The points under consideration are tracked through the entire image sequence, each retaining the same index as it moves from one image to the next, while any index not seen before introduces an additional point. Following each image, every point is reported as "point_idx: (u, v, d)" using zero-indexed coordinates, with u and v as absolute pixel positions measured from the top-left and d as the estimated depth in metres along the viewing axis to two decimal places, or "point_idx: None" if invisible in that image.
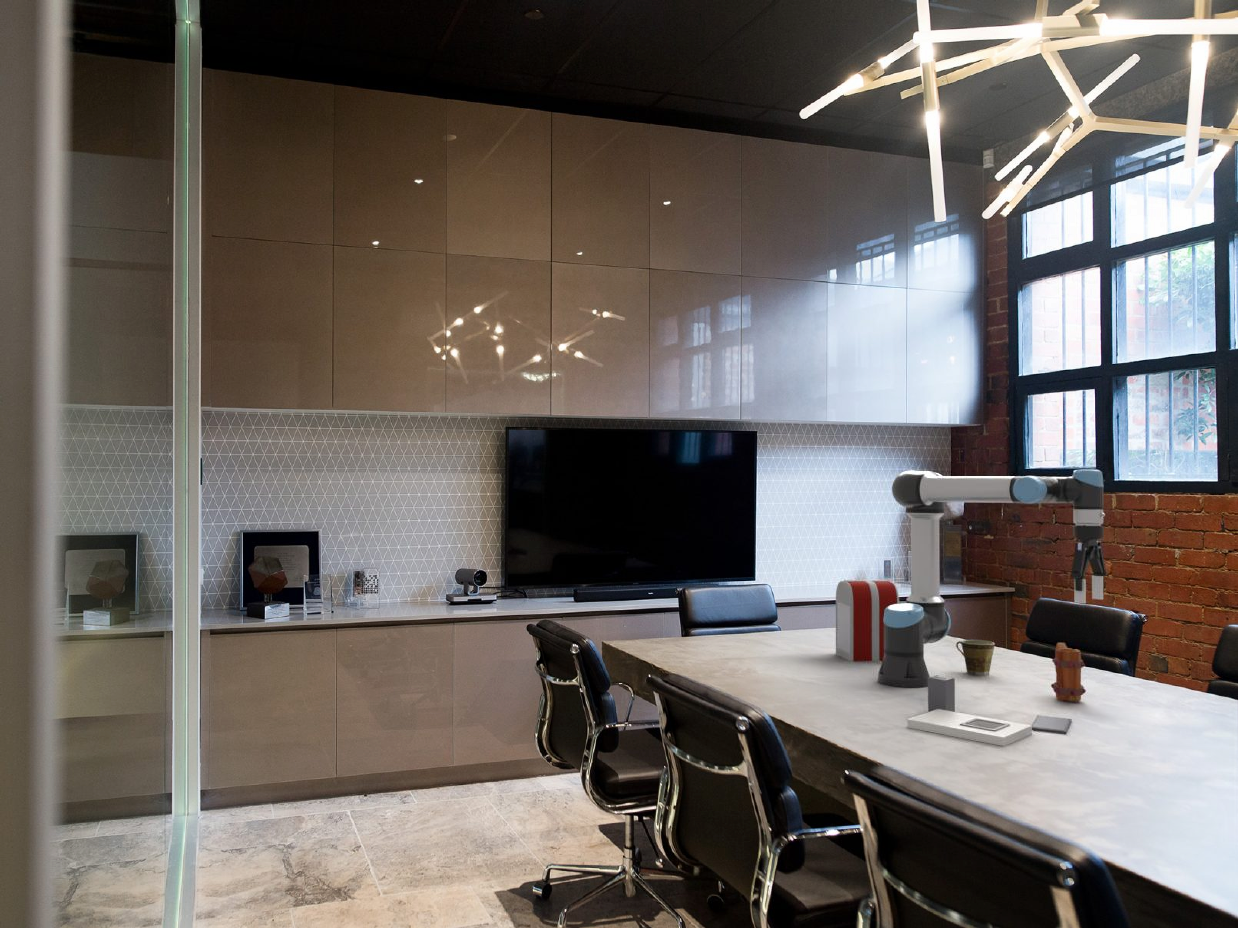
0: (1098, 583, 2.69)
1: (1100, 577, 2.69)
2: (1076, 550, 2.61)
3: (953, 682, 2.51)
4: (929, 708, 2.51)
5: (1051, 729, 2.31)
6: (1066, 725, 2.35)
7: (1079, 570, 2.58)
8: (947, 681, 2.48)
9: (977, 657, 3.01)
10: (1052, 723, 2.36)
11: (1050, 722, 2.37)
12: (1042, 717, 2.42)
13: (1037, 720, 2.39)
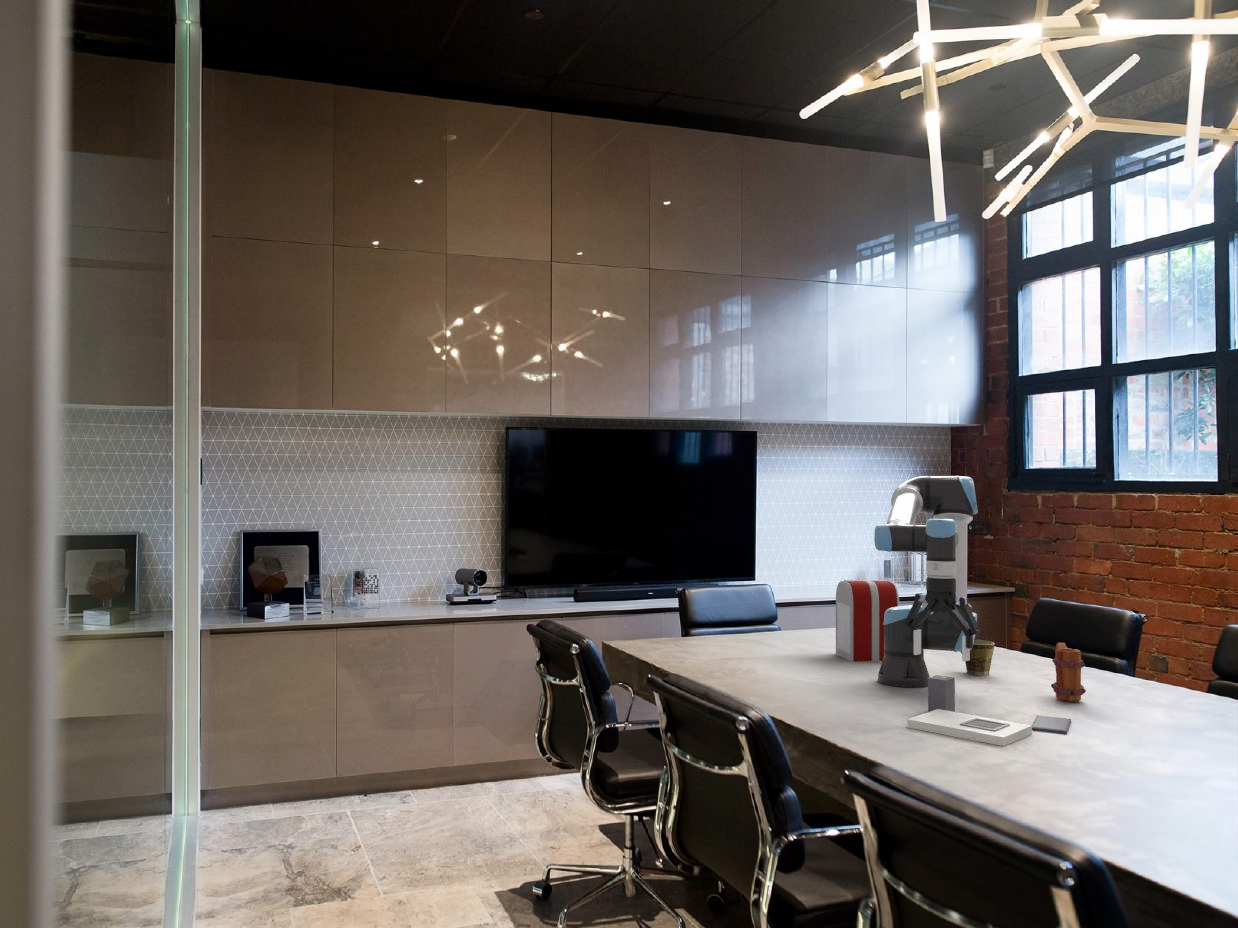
0: None
1: None
2: None
3: (953, 682, 2.51)
4: (929, 708, 2.51)
5: (1052, 729, 2.31)
6: (1066, 725, 2.35)
7: None
8: (947, 681, 2.48)
9: (977, 657, 3.01)
10: (1052, 723, 2.36)
11: (1050, 722, 2.37)
12: (1042, 717, 2.43)
13: (1037, 720, 2.39)
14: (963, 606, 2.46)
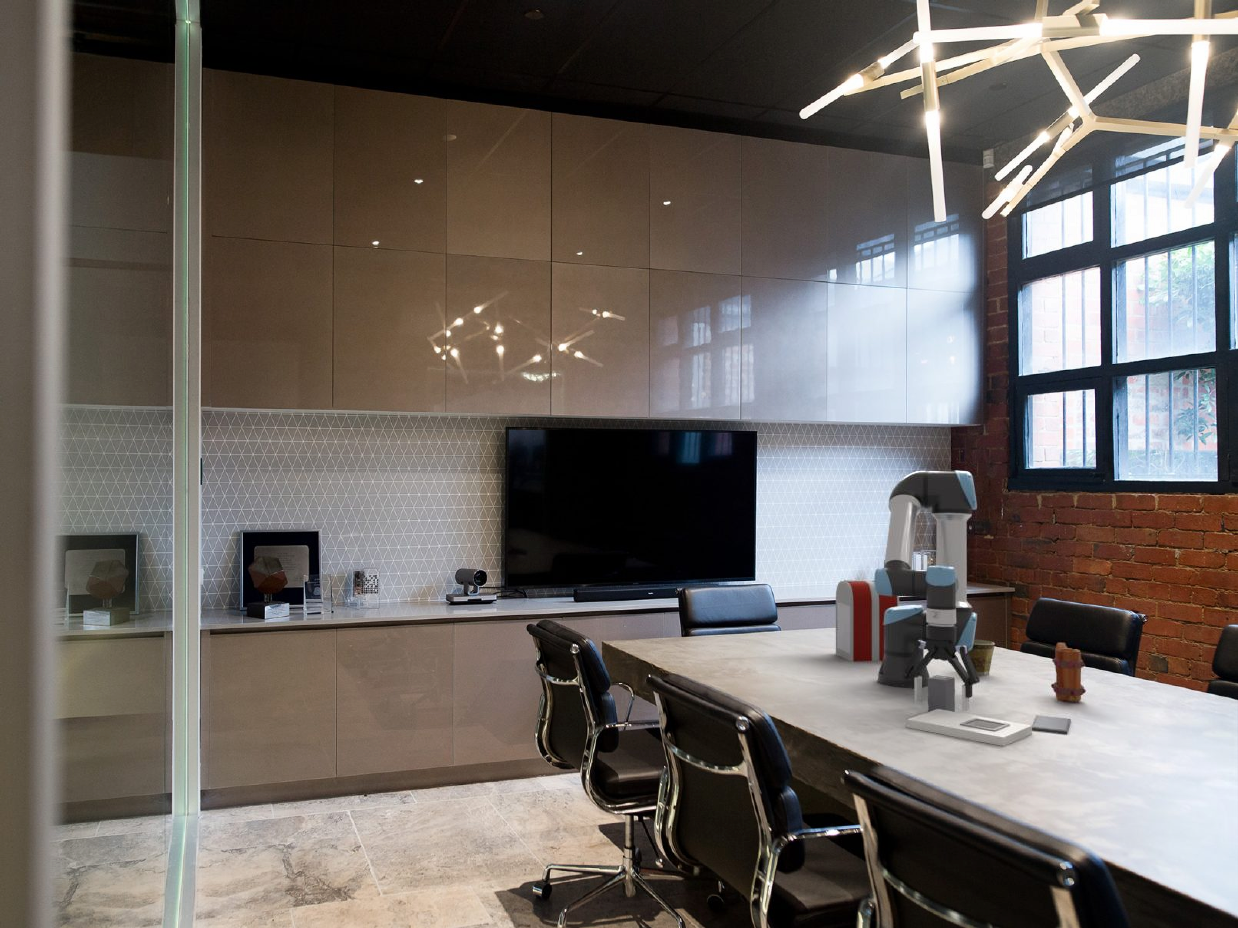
0: None
1: None
2: None
3: (953, 682, 2.51)
4: (929, 708, 2.51)
5: (1052, 729, 2.30)
6: (1066, 725, 2.35)
7: None
8: (947, 681, 2.48)
9: (977, 657, 3.01)
10: (1052, 723, 2.36)
11: (1050, 722, 2.37)
12: (1041, 717, 2.43)
13: (1037, 720, 2.39)
14: (963, 655, 2.46)
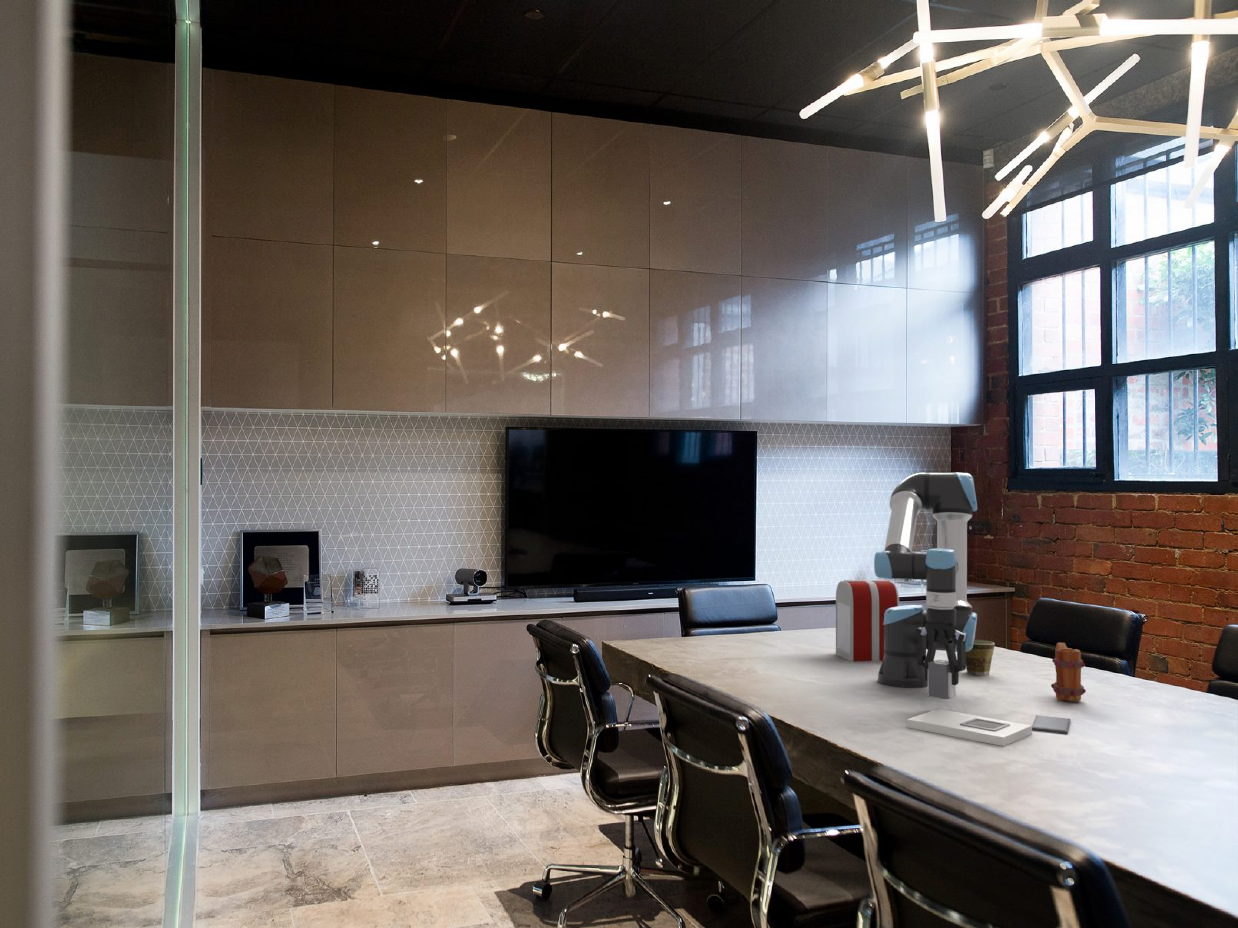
0: None
1: None
2: None
3: None
4: (930, 692, 2.52)
5: (1052, 729, 2.30)
6: (1066, 725, 2.35)
7: None
8: (947, 666, 2.49)
9: (977, 657, 3.01)
10: (1052, 723, 2.36)
11: (1050, 722, 2.37)
12: (1041, 717, 2.43)
13: (1037, 720, 2.39)
14: (960, 643, 2.47)
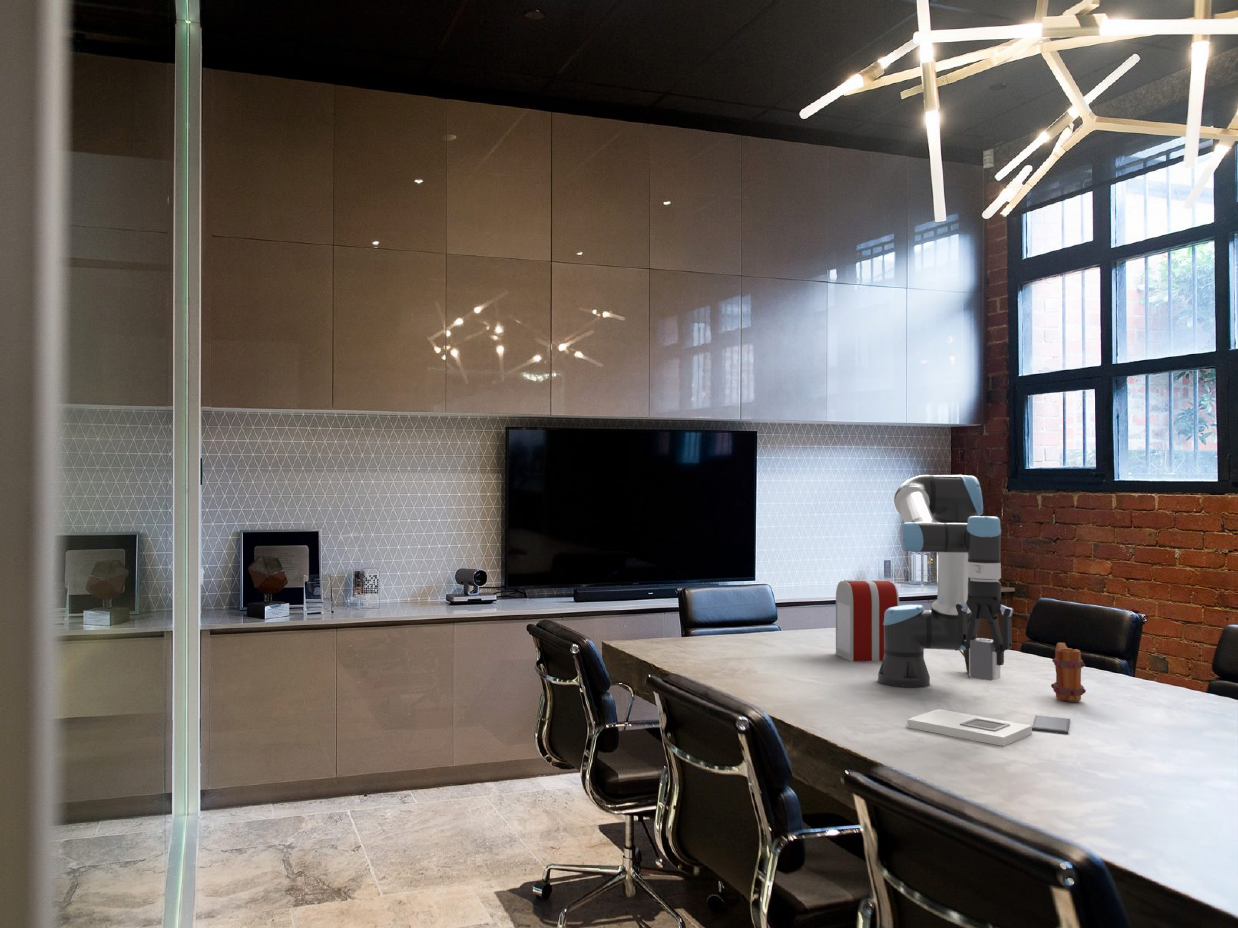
0: None
1: None
2: None
3: None
4: (971, 674, 2.29)
5: (1053, 729, 2.30)
6: (1066, 725, 2.35)
7: None
8: (991, 643, 2.26)
9: None
10: (1052, 723, 2.36)
11: (1050, 722, 2.37)
12: (1041, 717, 2.43)
13: (1037, 720, 2.39)
14: (1006, 618, 2.24)
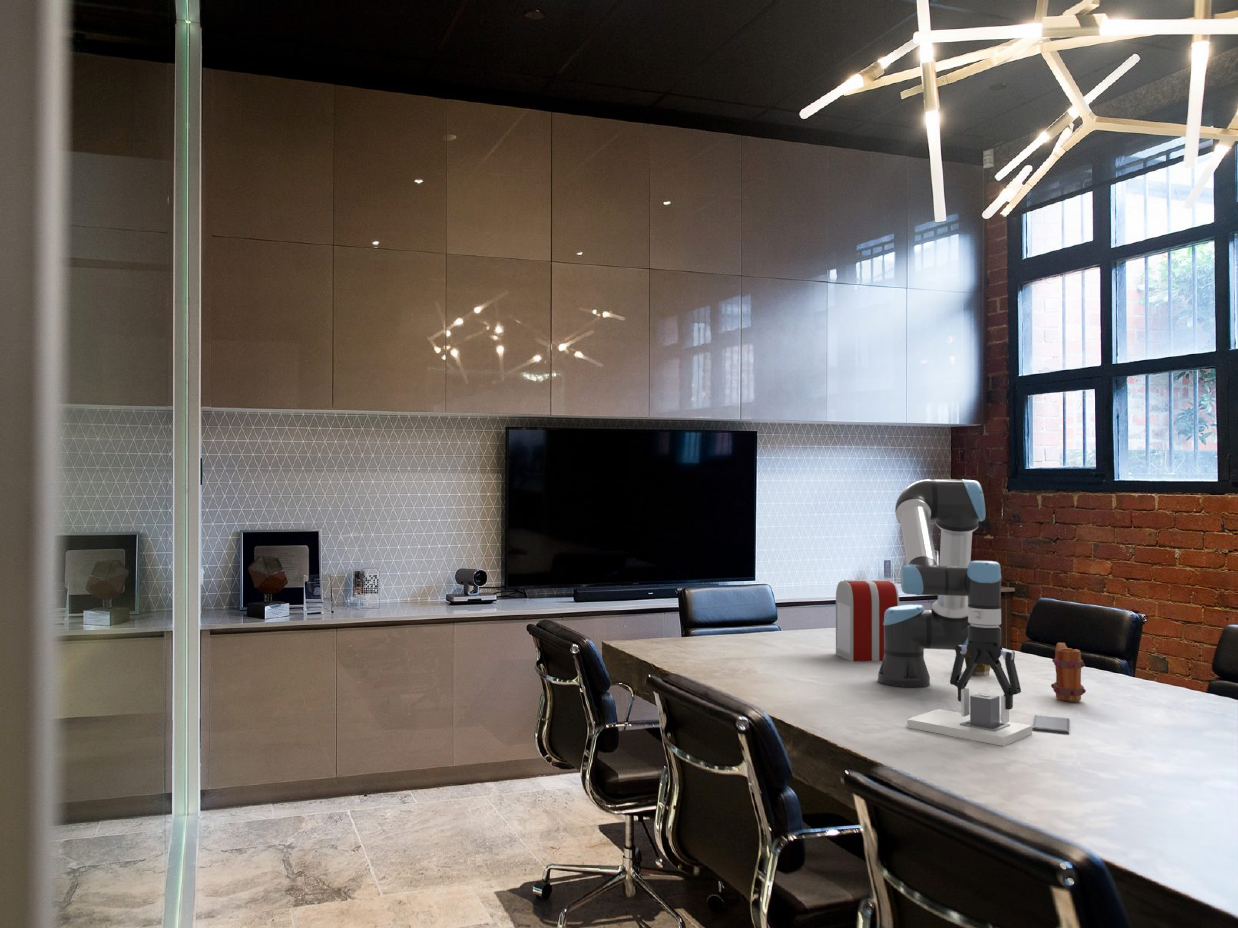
0: None
1: None
2: None
3: (998, 701, 2.28)
4: None
5: (1053, 729, 2.30)
6: (1066, 725, 2.35)
7: None
8: (992, 700, 2.26)
9: None
10: (1052, 723, 2.36)
11: (1050, 722, 2.37)
12: (1040, 717, 2.43)
13: (1037, 720, 2.39)
14: (1008, 662, 2.24)
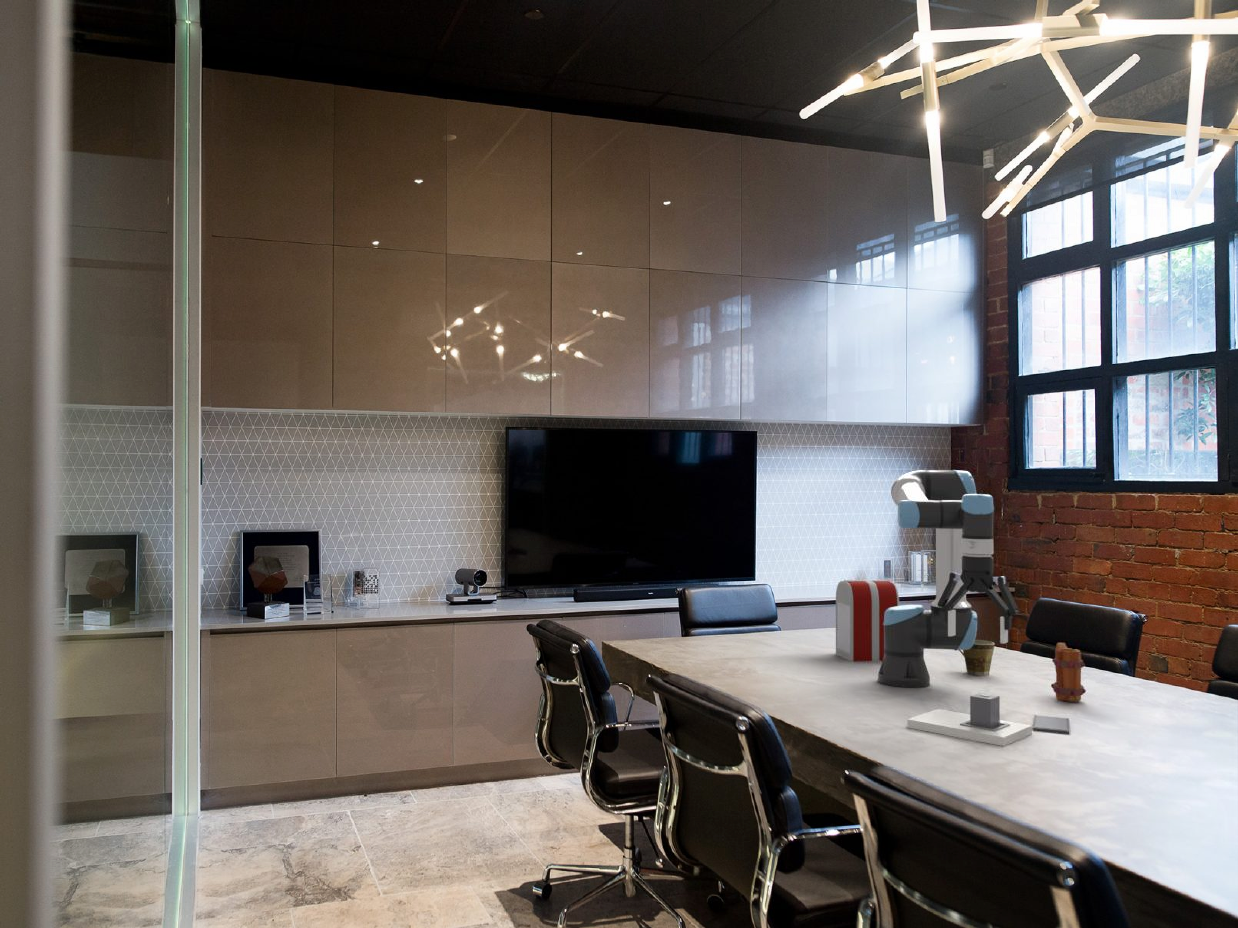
0: None
1: None
2: None
3: (998, 701, 2.28)
4: None
5: (1054, 729, 2.30)
6: (1066, 725, 2.35)
7: None
8: (992, 700, 2.26)
9: (977, 657, 3.01)
10: (1052, 723, 2.36)
11: (1050, 722, 2.37)
12: (1040, 717, 2.43)
13: (1037, 720, 2.39)
14: (1001, 586, 2.34)
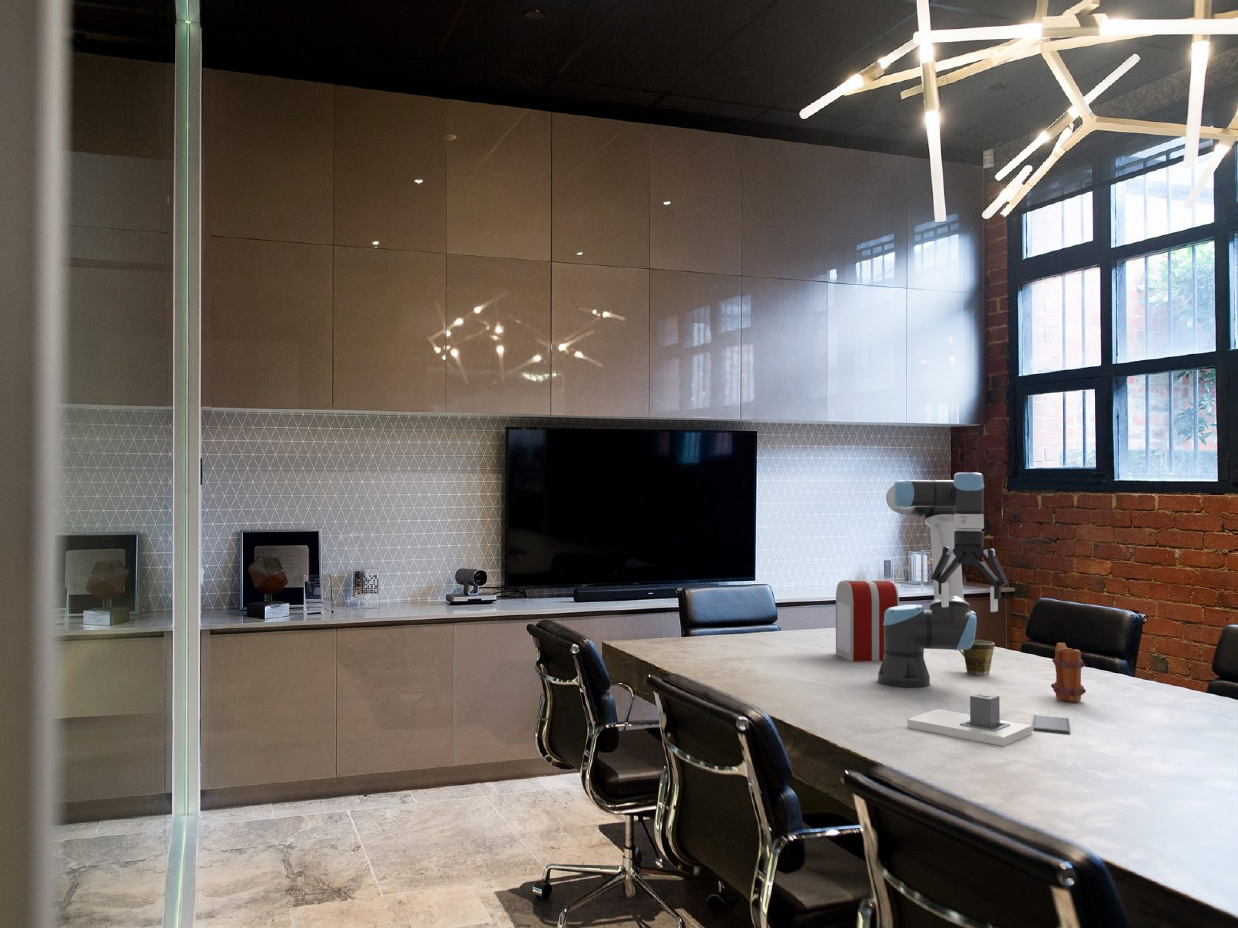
0: None
1: None
2: None
3: (998, 701, 2.28)
4: None
5: (1054, 729, 2.30)
6: (1066, 725, 2.35)
7: None
8: (992, 700, 2.26)
9: (977, 657, 3.01)
10: (1052, 723, 2.36)
11: (1050, 722, 2.37)
12: (1040, 717, 2.42)
13: (1037, 720, 2.39)
14: (991, 558, 2.49)
